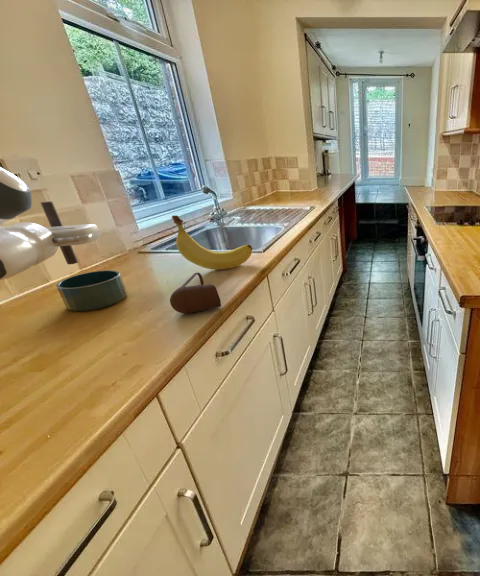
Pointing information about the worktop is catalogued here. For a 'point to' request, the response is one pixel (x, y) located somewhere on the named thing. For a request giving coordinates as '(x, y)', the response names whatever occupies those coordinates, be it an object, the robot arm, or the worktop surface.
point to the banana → (208, 251)
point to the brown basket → (195, 297)
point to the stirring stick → (55, 221)
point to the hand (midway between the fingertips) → (60, 229)
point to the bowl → (92, 290)
